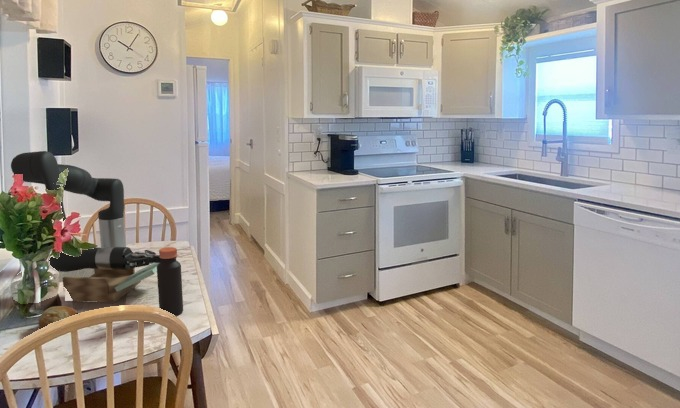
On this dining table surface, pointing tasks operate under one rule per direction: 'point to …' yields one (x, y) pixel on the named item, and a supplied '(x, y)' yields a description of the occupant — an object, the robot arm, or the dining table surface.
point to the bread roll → (55, 315)
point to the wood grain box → (99, 285)
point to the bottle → (170, 281)
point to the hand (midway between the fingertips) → (165, 259)
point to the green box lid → (138, 276)
